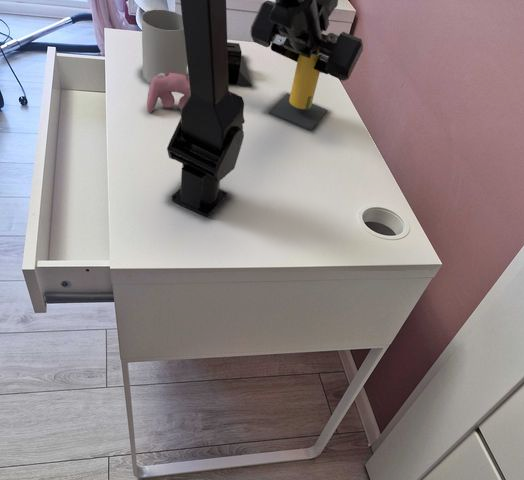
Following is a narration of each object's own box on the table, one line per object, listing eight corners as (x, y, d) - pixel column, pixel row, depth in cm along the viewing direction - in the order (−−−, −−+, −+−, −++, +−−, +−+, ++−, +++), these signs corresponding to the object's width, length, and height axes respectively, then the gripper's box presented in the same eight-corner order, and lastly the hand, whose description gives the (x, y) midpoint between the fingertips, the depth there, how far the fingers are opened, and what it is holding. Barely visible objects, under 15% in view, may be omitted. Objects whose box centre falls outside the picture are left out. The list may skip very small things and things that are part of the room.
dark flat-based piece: (210, 54, 106) (212, 30, 102) (244, 58, 107) (247, 34, 104) (217, 84, 99) (219, 59, 95) (253, 87, 100) (256, 63, 97)
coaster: (310, 130, 94) (310, 128, 94) (268, 113, 96) (268, 111, 95) (327, 111, 100) (327, 109, 99) (286, 95, 101) (287, 93, 100)
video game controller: (202, 122, 93) (207, 80, 90) (199, 123, 89) (205, 79, 85) (149, 110, 92) (153, 68, 89) (144, 111, 88) (147, 66, 85)
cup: (194, 78, 99) (198, 22, 91) (169, 92, 94) (170, 35, 86) (160, 61, 100) (160, 5, 92) (133, 75, 95) (131, 17, 87)
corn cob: (316, 108, 96) (334, 37, 86) (298, 111, 94) (314, 39, 84) (302, 95, 98) (318, 25, 88) (284, 98, 96) (298, 26, 86)
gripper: (380, -17, 74) (378, 41, 89) (270, -60, 77) (287, 4, 92) (343, 56, 75) (348, 101, 90) (238, 11, 78) (260, 62, 94)
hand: (311, 65), depth 92 cm, fingers closed on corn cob, 4 cm apart
